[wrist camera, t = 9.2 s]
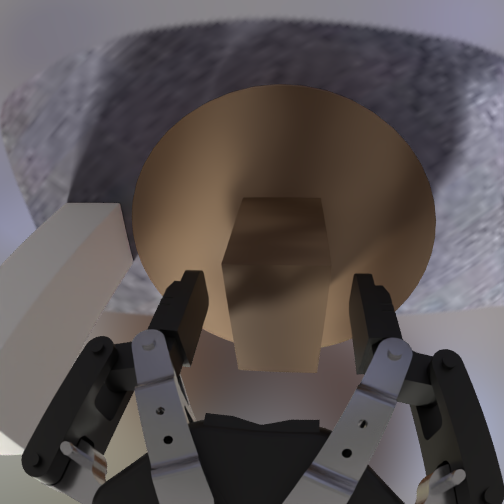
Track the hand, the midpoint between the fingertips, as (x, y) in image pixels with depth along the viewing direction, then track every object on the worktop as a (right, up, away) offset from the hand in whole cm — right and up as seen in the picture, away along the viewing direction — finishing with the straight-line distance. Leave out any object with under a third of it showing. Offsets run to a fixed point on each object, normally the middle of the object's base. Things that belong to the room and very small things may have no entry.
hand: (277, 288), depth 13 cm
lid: (+1, +2, +3) cm, 4 cm away
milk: (-14, +3, +12) cm, 19 cm away
